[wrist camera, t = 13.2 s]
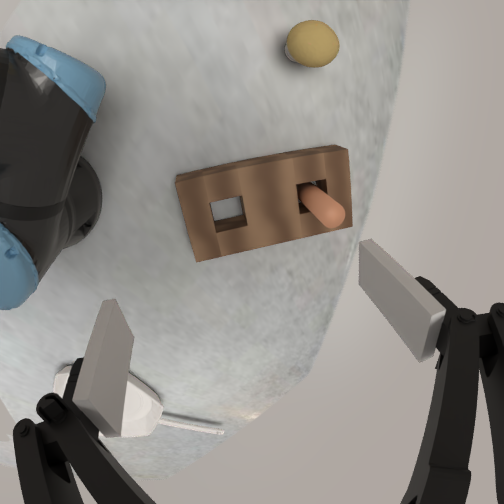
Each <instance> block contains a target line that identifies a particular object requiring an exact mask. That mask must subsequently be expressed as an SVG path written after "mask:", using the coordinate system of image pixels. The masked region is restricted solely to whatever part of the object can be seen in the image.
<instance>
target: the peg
mask: <svg viewBox="0 0 504 504" xmlns="http://www.w3.org/2000/svg"><path fill="white" fill-rule="evenodd" d="M296 188H297V196H298V199H299V200H300V201H301V202H302V203H303V204H304V205H305V206H306V207H307V208H308V209H309V210H310V211H311V212H312V213H313V214H314V215H315V216H316V217H317V218H318V219H319V221H320V222H321V223H322V224H323V225H324V226H326V227H328V228H336V227H338V226H339V225H341V224H342V222H343V221H344V218H345V210H344V208H343V207H342V206H341V205H340V204H339V203H338V202H336V201H335V200H334V199H332V198H331V197H330V196H329V195H327V194H326V193H325V192H323V191H322V190H321V189H319V188H318V187H317V186H315V185H314V184H313V183H311V182H306V183H301V184H296Z"/></svg>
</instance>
